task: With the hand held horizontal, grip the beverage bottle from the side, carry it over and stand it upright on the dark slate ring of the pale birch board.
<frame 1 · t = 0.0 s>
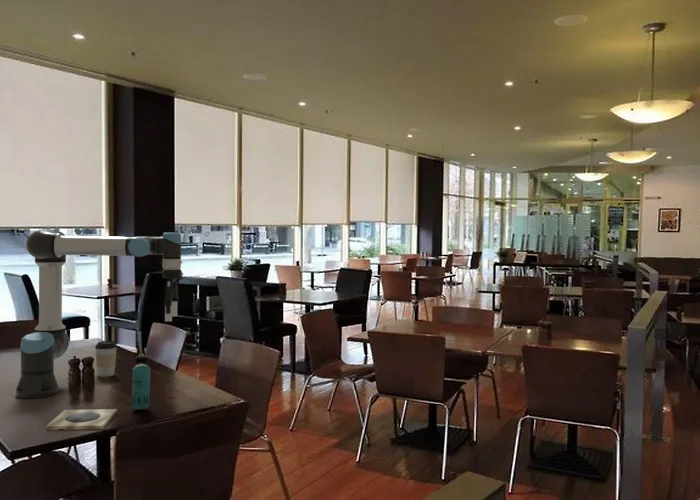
hand: (171, 318, 261), 28 cm above the table, tool pointing down, fingers open, 13 cm apart
beverage bottle: (140, 411, 225), on the table
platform: (141, 369, 289), on the table
birch board: (82, 420, 212), on the table
coffee cup: (105, 375, 276), on the table
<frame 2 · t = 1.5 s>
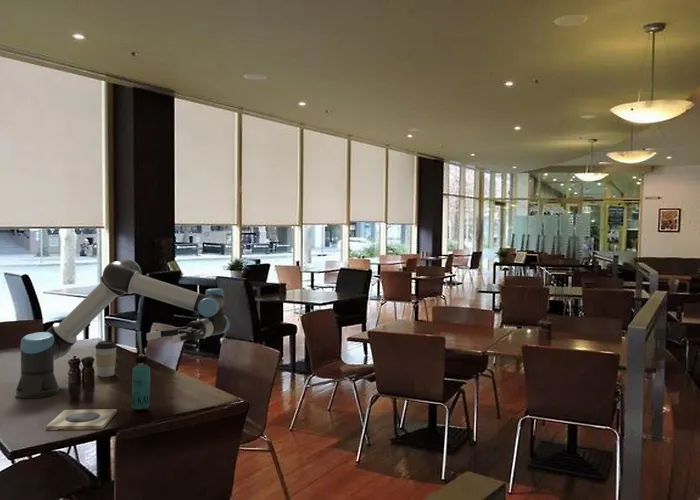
hand: (159, 338, 233), 25 cm above the table, tool horizontal, fingers open, 13 cm apart
nothing on the table moved.
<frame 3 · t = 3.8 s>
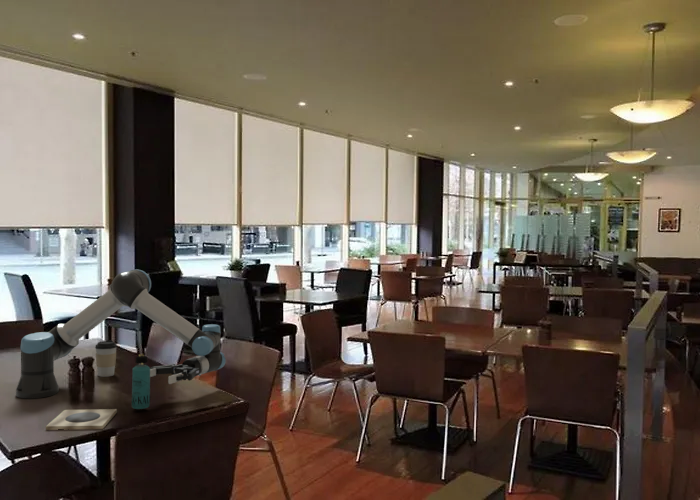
hand: (155, 377, 230), 11 cm above the table, tool horizontal, fingers open, 13 cm apart
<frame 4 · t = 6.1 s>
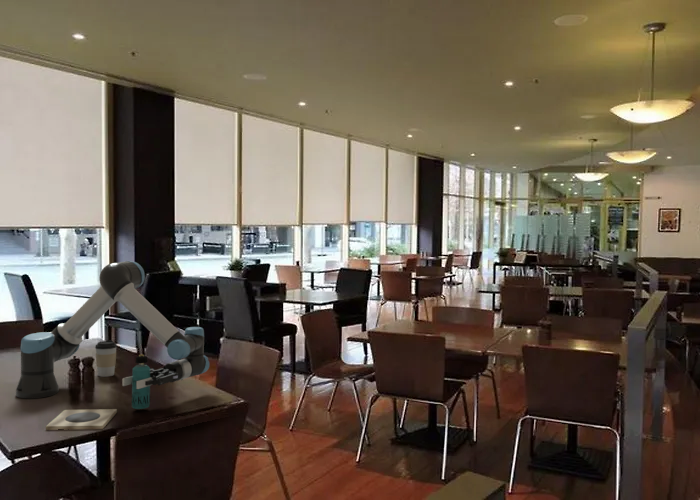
hand: (130, 383, 220), 11 cm above the table, tool horizontal, fingers closed on beverage bottle, 6 cm apart
beverage bottle: (140, 411, 225), on the table, touching gripper
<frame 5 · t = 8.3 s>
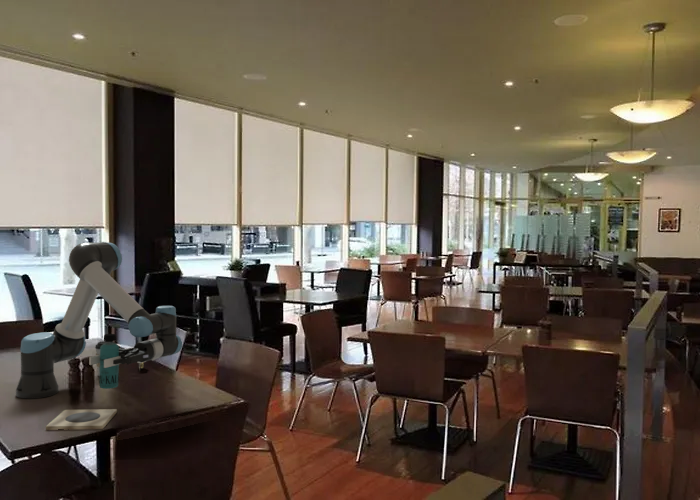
hand: (97, 362, 211), 21 cm above the table, tool horizontal, fingers closed on beverage bottle, 6 cm apart
beverage bottle: (109, 391, 216), point 9 cm above the table, touching gripper
when the fingers open (13 cm above the table, at t = 10.6 s): beverage bottle drops 1 cm, resting on birch board.
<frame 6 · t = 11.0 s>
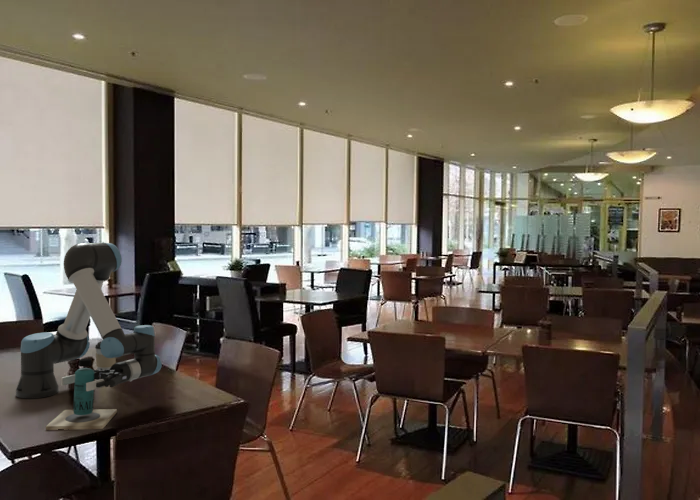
hand: (74, 384, 208), 13 cm above the table, tool horizontal, fingers open, 12 cm apart
beverage bottle: (83, 417, 212), point 1 cm above the table, touching birch board
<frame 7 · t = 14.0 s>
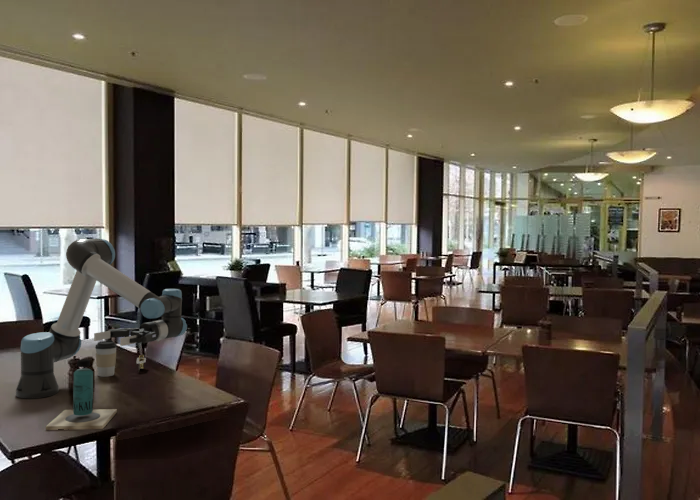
hand: (107, 339, 219), 27 cm above the table, tool horizontal, fingers open, 13 cm apart
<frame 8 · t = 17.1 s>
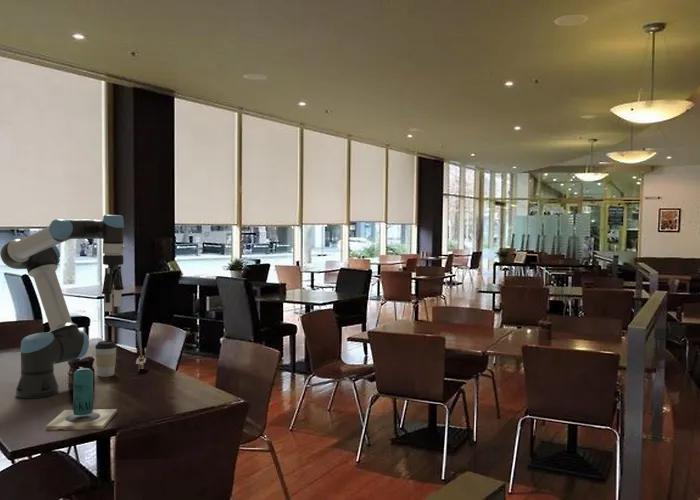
hand: (113, 308, 241), 35 cm above the table, tool pointing down, fingers open, 13 cm apart
at the end: beverage bottle inside the target area on the birch board (0.1 cm from its centre), point 1.1 cm above the birch board's base; beverage bottle tilted 0°; the gripper is holding nothing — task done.
